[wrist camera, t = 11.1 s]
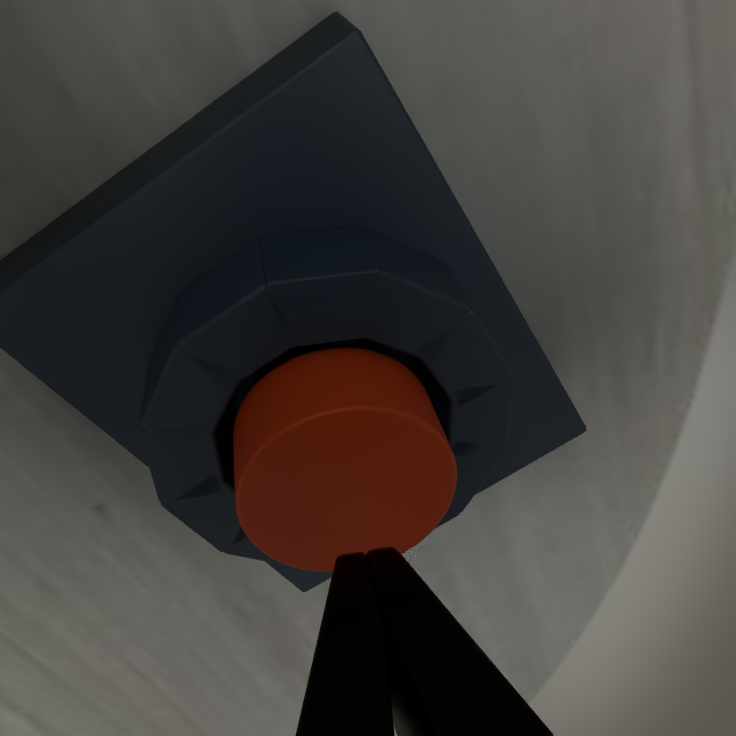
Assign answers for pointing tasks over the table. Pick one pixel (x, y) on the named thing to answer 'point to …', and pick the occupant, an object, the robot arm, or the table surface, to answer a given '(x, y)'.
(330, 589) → the robot arm
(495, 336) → the push button box
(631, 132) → the table surface
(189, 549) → the table surface
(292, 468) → the red push button
